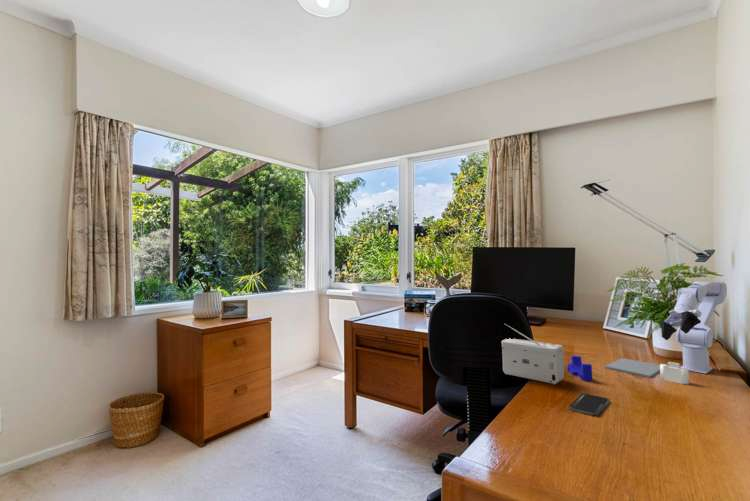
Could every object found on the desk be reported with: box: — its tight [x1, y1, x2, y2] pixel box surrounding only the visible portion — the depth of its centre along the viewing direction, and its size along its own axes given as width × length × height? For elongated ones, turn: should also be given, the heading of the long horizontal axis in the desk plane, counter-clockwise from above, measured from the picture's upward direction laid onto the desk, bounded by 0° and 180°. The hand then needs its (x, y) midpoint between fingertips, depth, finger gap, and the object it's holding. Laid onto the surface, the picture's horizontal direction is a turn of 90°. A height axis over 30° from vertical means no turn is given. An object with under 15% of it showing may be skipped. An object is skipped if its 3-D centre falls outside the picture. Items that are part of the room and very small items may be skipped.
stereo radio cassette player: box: [500, 323, 565, 385], centre depth 136 cm, size 21×8×20 cm, turn 47°
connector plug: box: [659, 361, 690, 385], centre depth 128 cm, size 3×8×6 cm, turn 35°
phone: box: [568, 392, 611, 417], centre depth 109 cm, size 8×1×15 cm
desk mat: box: [604, 358, 660, 379], centre depth 142 cm, size 17×15×1 cm
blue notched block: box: [567, 355, 593, 382], centre depth 136 cm, size 12×4×6 cm, turn 169°
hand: (674, 334), depth 127 cm, fingers open, 7 cm apart
